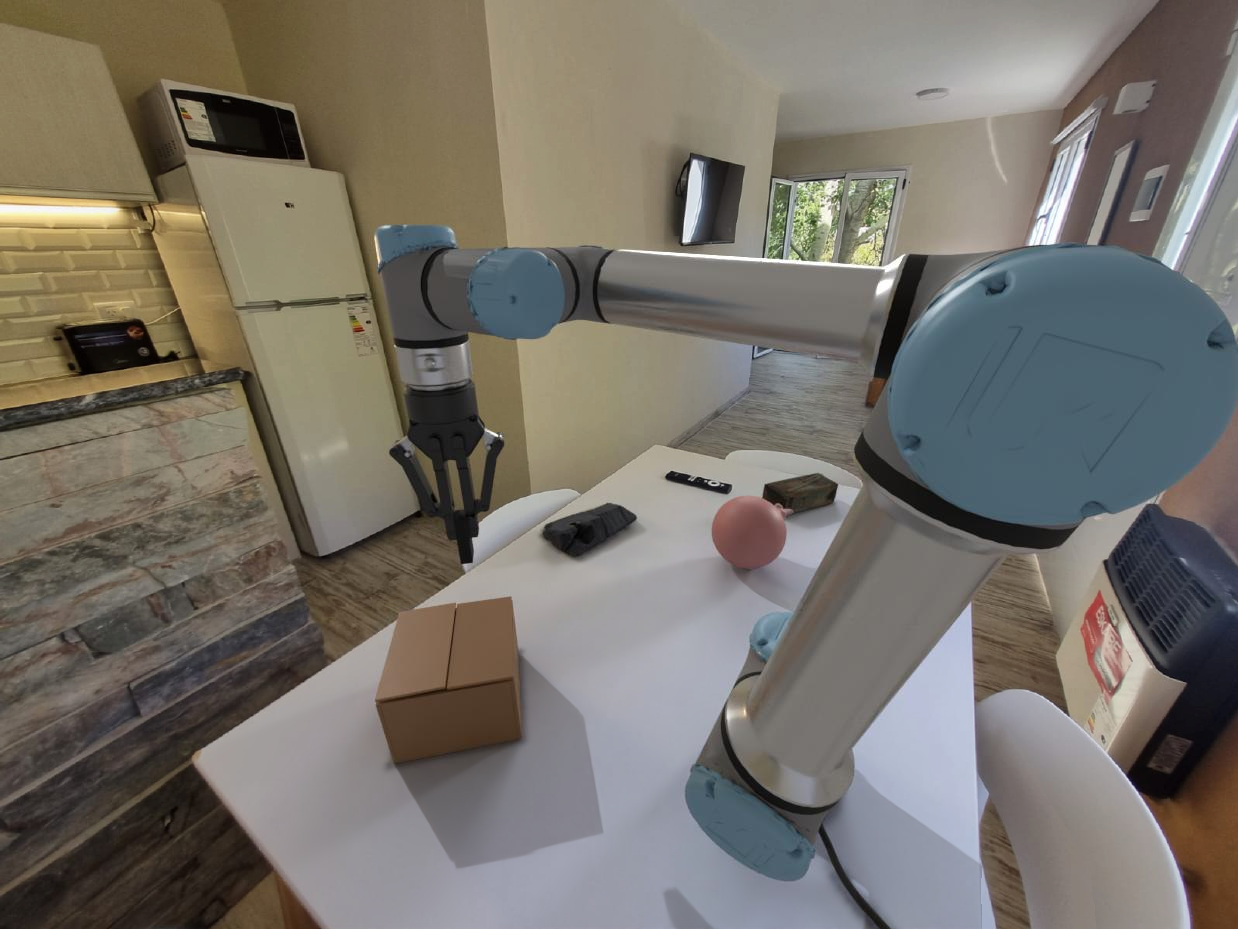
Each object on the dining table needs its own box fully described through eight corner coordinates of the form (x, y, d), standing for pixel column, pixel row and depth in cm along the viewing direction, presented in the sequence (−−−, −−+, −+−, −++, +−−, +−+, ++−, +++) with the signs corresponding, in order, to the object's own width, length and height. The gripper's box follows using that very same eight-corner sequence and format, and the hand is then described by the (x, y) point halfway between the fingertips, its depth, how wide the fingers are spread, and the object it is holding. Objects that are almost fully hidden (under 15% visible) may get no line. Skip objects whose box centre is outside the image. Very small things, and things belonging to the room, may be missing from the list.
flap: (445, 688, 61) (444, 686, 61) (375, 702, 59) (374, 700, 59) (456, 604, 75) (455, 602, 75) (399, 613, 73) (399, 611, 73)
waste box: (521, 738, 68) (513, 676, 62) (393, 764, 64) (373, 700, 59) (518, 652, 82) (511, 595, 77) (413, 669, 79) (398, 611, 73)
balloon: (812, 566, 103) (826, 505, 97) (737, 592, 96) (746, 527, 89) (765, 530, 116) (774, 474, 110) (695, 550, 109) (700, 491, 102)
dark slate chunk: (646, 528, 117) (647, 511, 115) (571, 562, 105) (570, 543, 103) (608, 503, 128) (608, 487, 126) (536, 531, 116) (534, 514, 114)
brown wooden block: (836, 503, 128) (841, 481, 125) (779, 518, 121) (783, 496, 118) (814, 490, 135) (818, 469, 132) (759, 504, 128) (762, 482, 125)
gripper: (366, 394, 48) (409, 582, 58) (499, 387, 51) (519, 568, 61) (382, 376, 55) (419, 547, 65) (499, 369, 57) (517, 535, 67)
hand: (467, 557), depth 63 cm, fingers closed
